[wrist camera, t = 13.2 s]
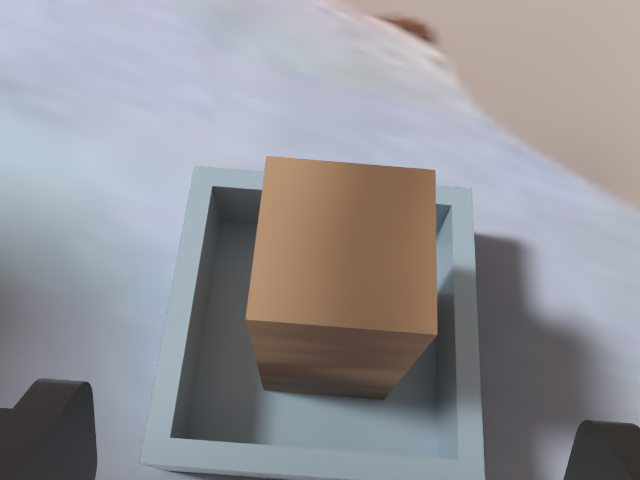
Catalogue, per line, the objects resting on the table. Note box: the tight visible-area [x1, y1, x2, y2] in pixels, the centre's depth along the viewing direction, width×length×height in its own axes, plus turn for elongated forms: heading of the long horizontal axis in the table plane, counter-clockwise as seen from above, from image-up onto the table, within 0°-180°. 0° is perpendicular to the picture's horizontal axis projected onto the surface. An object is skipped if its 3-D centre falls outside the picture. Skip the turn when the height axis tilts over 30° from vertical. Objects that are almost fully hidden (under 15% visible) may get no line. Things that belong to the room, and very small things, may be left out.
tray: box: [139, 166, 485, 480], centre depth 22 cm, size 11×11×4 cm
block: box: [245, 156, 437, 400], centre depth 19 cm, size 4×4×9 cm
